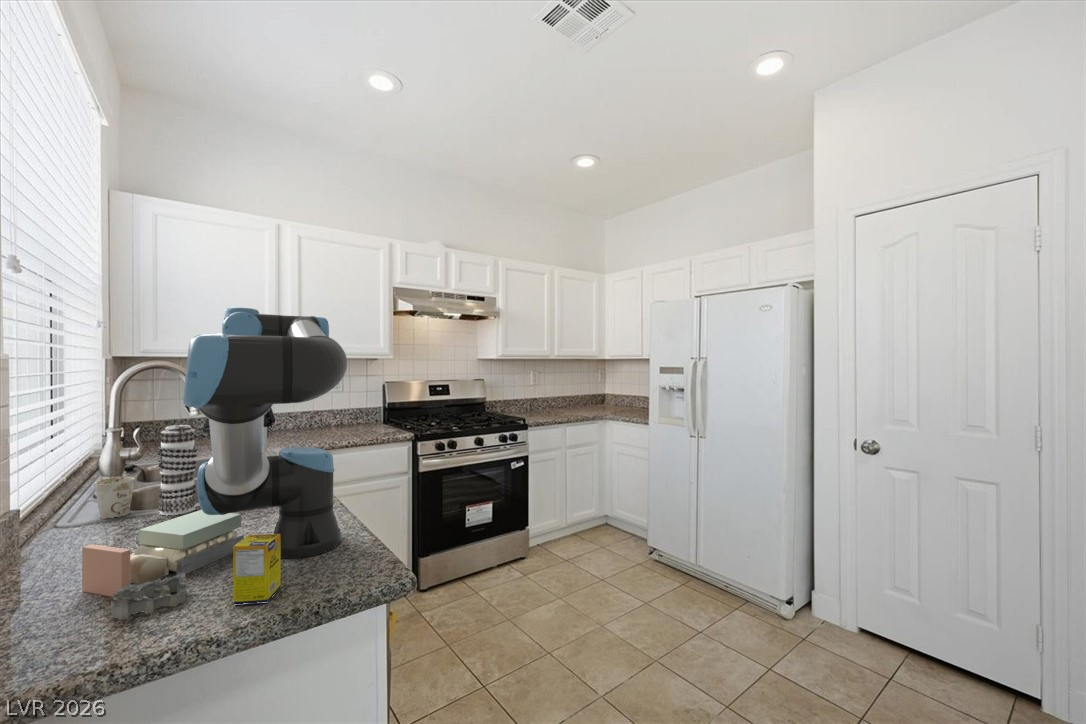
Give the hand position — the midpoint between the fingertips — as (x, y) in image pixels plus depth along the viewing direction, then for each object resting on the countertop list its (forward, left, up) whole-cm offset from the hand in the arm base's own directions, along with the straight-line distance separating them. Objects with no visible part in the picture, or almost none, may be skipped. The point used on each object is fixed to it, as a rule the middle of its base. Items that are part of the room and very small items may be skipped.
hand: (241, 456), depth 118 cm
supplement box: (-29, +24, -20) cm, 43 cm away
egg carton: (-12, +31, -21) cm, 39 cm away
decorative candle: (+35, -11, -20) cm, 42 cm away
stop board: (0, +30, -20) cm, 36 cm away
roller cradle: (0, +25, -20) cm, 32 cm away
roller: (0, +25, -20) cm, 32 cm away
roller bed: (0, +14, -20) cm, 24 cm away
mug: (+50, -4, -20) cm, 54 cm away
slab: (0, +13, -15) cm, 20 cm away
